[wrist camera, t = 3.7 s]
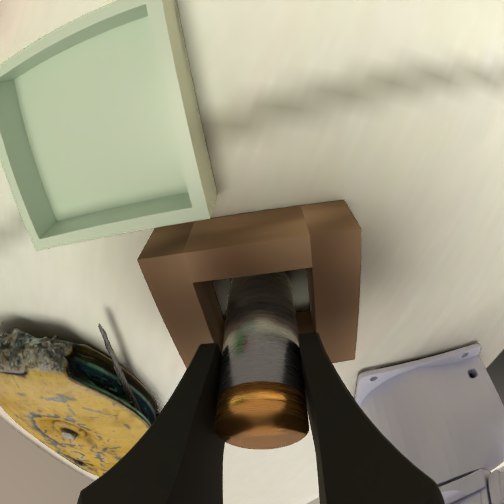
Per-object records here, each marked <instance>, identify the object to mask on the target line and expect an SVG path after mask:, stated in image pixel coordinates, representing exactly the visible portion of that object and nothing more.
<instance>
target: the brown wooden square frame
mask: <svg viewBox="0 0 504 504" xmlns="http://www.w3.org/2000/svg"><path fill="white" fill-rule="evenodd" d="M137 260H138V263H139V265H140V268H141V270H142V273H143V275H144V277H145V280H146V282H147V284H148V287H149V289H150V291H151V294H152V296H153V298H154V301H155V303H156V305H157V307H158V310H159V312H160V314H161V316H162V318H163V321H164V323H165V325H166V327H167V329H168V331H169V333H170V336H171V338H172V340H173V342H174V344H175V346H176V348H177V350H178V352H179V354H180V356H181V358H182V360H183V362H184V364H185V366H186V368H188V366H189V364H190V362H191V360H192V359H193V357H194V355H195V353H196V351H197V349H198V347H199V345H200V344H207V343H218V346H219V349H220V352H221V354H222V351H223V342H224V333H225V324H226V321H224V319H223V316H222V313H221V310H220V307H219V303H218V300H217V297H216V293H215V290H214V287H213V284H212V280H219V279H227V278H235V277H243V276H251V275H259V274H266V273H274V272H281V271H289V270H296V269H303V268H307V274H308V286H309V298H310V311H304V312H297V313H296V318H297V326H298V334H304V333H311V332H317V333H319V335H320V338H321V341H322V344H323V346H324V348H325V350H326V353H327V355H328V357H329V358H330V360H331V362H332V363H336V362H342V361H348V360H354V359H355V351H356V340H357V328H358V314H359V297H360V274H361V227H360V226H359V224H358V222H357V220H356V219H355V217H354V215H353V214H352V212H351V211H350V209H349V207H348V206H347V204H346V202H345V201H344V200H340V201H332V202H324V203H316V204H308V205H301V206H293V207H286V208H279V209H272V210H265V211H258V212H251V213H244V214H238V215H231V216H225V217H218V218H212V219H206V220H200V221H193V222H187V223H181V224H176V225H170V226H164V227H158V228H155V229H154V231H153V233H152V234H151V236H150V238H149V240H148V241H147V243H146V245H145V247H144V249H143V250H142V252H141V254H140V256H139V258H138V259H137Z"/></svg>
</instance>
